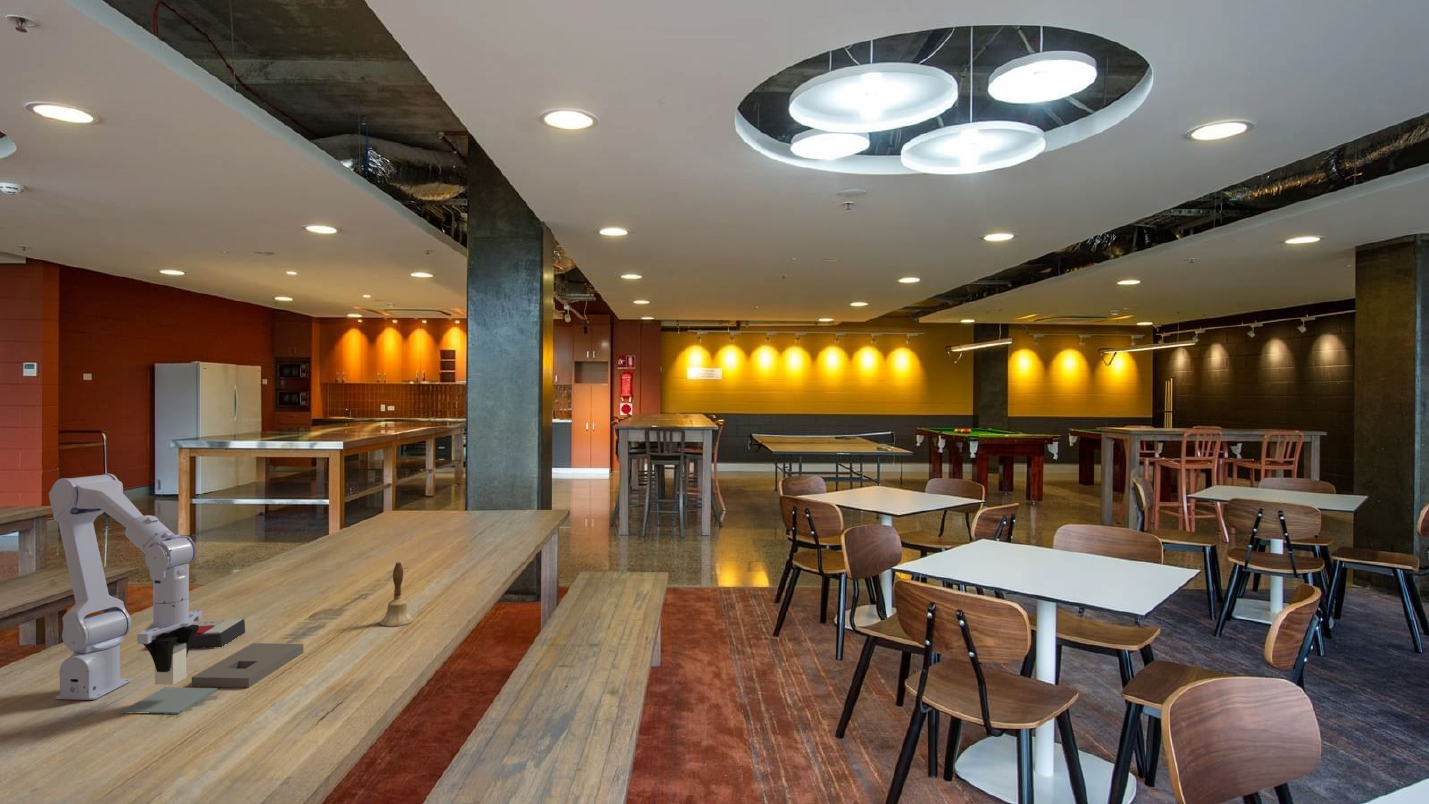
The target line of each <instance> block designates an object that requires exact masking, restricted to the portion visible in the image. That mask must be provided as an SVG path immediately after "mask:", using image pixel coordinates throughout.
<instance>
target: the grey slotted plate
mask: <svg viewBox="0 0 1429 804" xmlns="http://www.w3.org/2000/svg"><path fill="white" fill-rule="evenodd" d="M303 653H304V643H267V642H266V643H264V642H263V643H261V642H260V643H259V642H258V643H257V642H252V643H251V644H249V645H247V646H245V647H243V648H242V649H239V650H238V651H237V652H234V653H233V654H230V655H229V656H227V657H225V658H222V660H220V661H218V662H217V663H214V664H212V665H211V666H209V667H207V668H206V669H204V670H202V671H200V672H198V673H196V674H195V675H192V676H191V687H192V686H197V687H196V688H236V687H246V688H247V689H248V688H250V686H251V687H253V686H254V685H256V684H257V683H258V682H259V680H260V681H261V679H262V678H263V679H264V677H265V678H266V677H268V676H269V675H271V674H272V673H274V672H276V671H277V670H279V669H280V668H282V667H283V666H285V665H286V664H288V663H289V662H290V661H292V660H294V659H296V658H298V657H299V656H300V655H301V654H303ZM276 669H277V670H276ZM263 679H262V680H263ZM246 688H245V689H246Z"/></svg>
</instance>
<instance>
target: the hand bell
mask: <svg viewBox="0 0 1429 804" xmlns="http://www.w3.org/2000/svg"><path fill="white" fill-rule="evenodd" d="M403 580H404V568H403V565H402V562H400V561H399V562H398V561H397V562H396V563H395V566H394V568H393V572H392V582H393V584H394V585H393V586H394V592H393V599H392V600H390V601H388V604H387V610H386V612H385V615H384V616H383V618H382V619H380V621H379V625H381V626H382V627H388V628H389V627H392V628H393V627H401V626H402V627H403V626H406V625H410V624H411V623H412V622H414V618H413V616H412V615H410V613H409V611H408V607H407V601H406V600H404V599H403V598H402V597H401V595H402V590H401V589H402V588H401V587H402V583H403Z"/></svg>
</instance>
